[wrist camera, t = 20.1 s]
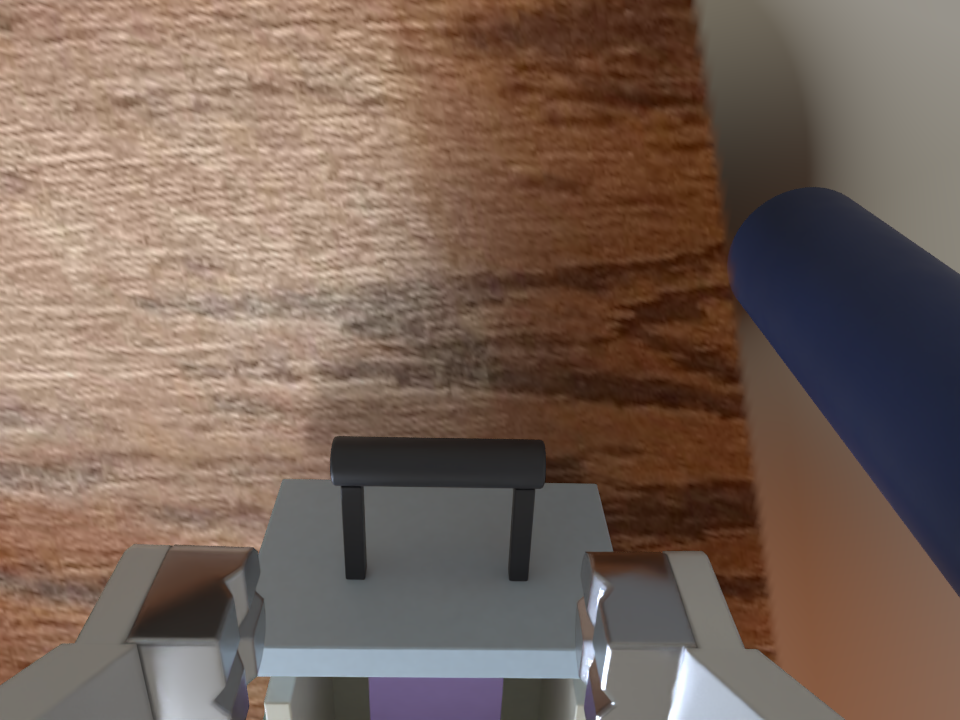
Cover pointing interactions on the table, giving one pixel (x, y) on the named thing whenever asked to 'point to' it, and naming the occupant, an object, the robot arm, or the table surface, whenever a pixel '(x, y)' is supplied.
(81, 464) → the table surface
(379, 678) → the purple cube
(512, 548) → the drawer
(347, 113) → the table surface
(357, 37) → the table surface
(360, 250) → the table surface
